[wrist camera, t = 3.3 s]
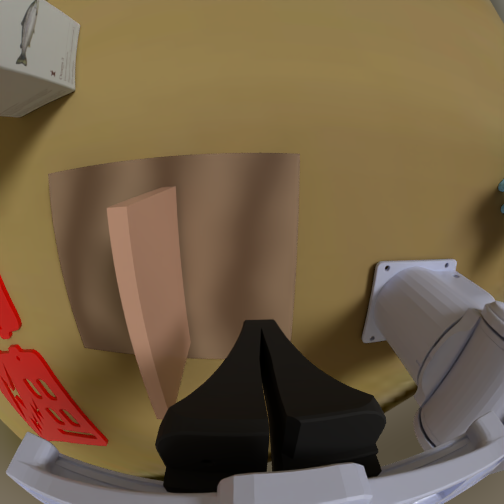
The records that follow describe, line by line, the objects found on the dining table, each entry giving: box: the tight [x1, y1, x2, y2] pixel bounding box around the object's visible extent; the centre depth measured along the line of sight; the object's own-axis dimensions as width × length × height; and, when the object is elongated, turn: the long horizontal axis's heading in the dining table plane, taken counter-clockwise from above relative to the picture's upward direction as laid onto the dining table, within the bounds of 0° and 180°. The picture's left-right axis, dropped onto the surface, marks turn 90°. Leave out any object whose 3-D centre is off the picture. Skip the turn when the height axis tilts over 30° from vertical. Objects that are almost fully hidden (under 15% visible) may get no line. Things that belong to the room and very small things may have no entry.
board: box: [48, 153, 300, 359], centre depth 20 cm, size 19×16×2 cm
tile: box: [107, 186, 191, 419], centre depth 15 cm, size 1×12×8 cm, turn 0°
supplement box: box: [0, 0, 80, 117], centre depth 9 cm, size 7×7×13 cm
